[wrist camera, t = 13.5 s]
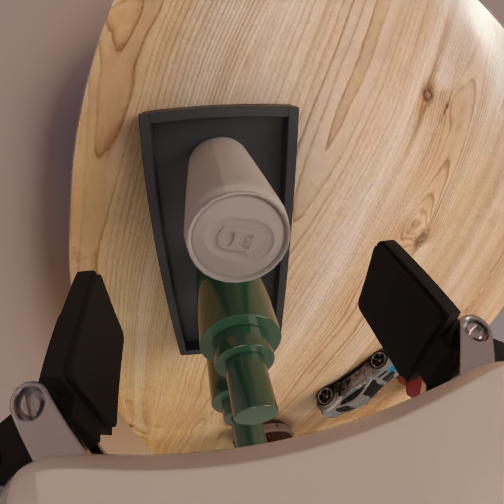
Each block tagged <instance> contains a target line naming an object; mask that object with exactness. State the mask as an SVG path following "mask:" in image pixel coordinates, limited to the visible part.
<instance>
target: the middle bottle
mask: <svg viewBox="0 0 504 504" xmlns="http://www.w3.org/2000/svg"><path fill="white" fill-rule="evenodd" d="M195 273H196V297H197V315H198V332H199V346H200V350H201V352H202V354H203V355H204V357H205V358H206V359H208V360H209V361H211V362H213V363H214V365H215V369H216V371H217V372H218V373H219V374H220V375H222V376H224V377H226V378H227V383H228V389H229V396H230V402H231V408H232V414H233V419H234V421H235V422H237V423H239V424H243V425H254V424H260V423H263V422H266V421H269V420H271V419H273V418H274V417H275V416H276V415H277V414H278V406H277V403H276V399H275V395H274V392H273V388H272V384H271V380H270V377H269V373H268V369H269V368H270V367H271V366H272V365H273V363H274V359H275V356H274V351H275V350H276V349H277V347H278V346H279V344H280V341H281V331H280V328H279V325H278V322H277V319H276V316H275V313H274V310H273V307H272V304H271V301H270V298H269V295H268V292H267V289H266V286H265V283H264V280H263V277H262V276H261V277H259V278H256V279H254V280H251V281H246V282H240V283H232V282H223V281H219V280H215V279H213V278H211V277H209V276H207V275H206V274H204V273H203V272H202V271H201V270H200V269H198V268H197V267H196V266H195Z"/></svg>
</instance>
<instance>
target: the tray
mask: <svg viewBox="0 0 504 504" xmlns="http://www.w3.org/2000/svg"><path fill="white" fill-rule="evenodd" d="M298 116H299V107H296V106H293V105H282V104H230V105H208V106H193V107H181V108H170V109H161V110H153V111H145V112H142V113H141V114H139V128H140V139H141V149H142V158H143V167H144V175H145V182H146V190H147V197H148V204H149V210H150V216H151V223H152V228H153V234H154V240H155V245H156V251H157V256H158V261H159V266H160V271H161V276H162V280H163V285H164V290H165V294H166V299H167V303H168V307H169V311H170V315H171V320H172V324H173V328H174V331H175V335H176V339H177V343H178V347H179V350H180V354H181V355H187V354H188V355H191V354H202V352H201V350H200V346H199V332H198V315H197V297H196V273H195V264H194V263H193V261H192V259H191V258H190V256H189V252H188V249H187V247H186V243H185V239H184V220H185V203H186V189H187V176H188V165H189V159H190V156H191V154H192V152H193V150H194V149H195V148H196V147H197V146H198V145H199V144H201V143H202V142H203V141H206V140H208V139H211V138H216V137H229V138H231V139H234V140H236V141H238V142H239V143H240V144H242V145H243V147H244V148H245V149H246V151H247V152H248V154H249V155H250V156H251V158H252V159H253V161H254V162H255V164H256V165H257V167H258V168H259V169H260V171H261V172H262V174H263V175H264V177H265V178H266V180H267V181H268V183H269V184H270V186H271V187H272V189H273V190H274V192H275V193H276V195H277V196H278V198H279V199H280V201H281V202H282V204H283V205H284V207H285V210H286V213H287V216H288V219H289V225H290V237H291V225H292V213H293V199H294V185H295V171H296V154H297V137H298ZM289 248H290V242H289V246H288V249H287V251H286V253H285V255H284V257H283V258H282V260H281V261H280V262H279V263H278V264H277V265H276V266H275V267H274V268H273V269H272V270H271V271H269V272H268V273H266V274H265V275H263V276H262V277H263V280H264V283H265V286H266V289H267V292H268V295H269V298H270V301H271V304H272V307H273V310H274V313H275V316H276V319H277V322H278V325H279V328H280V331H281V327H282V318H283V309H284V300H285V290H286V280H287V270H288V259H289Z"/></svg>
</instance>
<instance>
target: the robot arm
mask: <svg viewBox="0 0 504 504" xmlns="http://www.w3.org/2000/svg"><path fill="white" fill-rule="evenodd" d="M358 305H359V309H360V311H361V313H362V314H363V316H364V317H365V319H366V321H367V322H368V324H369V325H370V327H371V329H372V330H373V332H374V334H375V335H376V337H377V339H378V340H379V342H380V344H381V345H382V347H383V349H384V350H385V352H386V354H387V355H388V357H389V359H390V360H391V362H392V364H393V365H394V367H395V369H396V371H397V372H398V374H399V375H400V376H401V377H403V378H404V379H405V381H406V383H409V382H411V381H413V380H416V379H418V378H419V376H420V377H421V378H422V384H421V390H420V395H418V396H416V397H414V398H411V399H409V400H407V401H404V402H402V403H400V404H397V405H395V406H392V407H390V408H387V409H384V410H382V411H379V412H376V413H374V414H371V415H368V416H365V417H362V418H359V419H357V420H354V421H350V422H347V423H344V424H341V425H338V426H334V427H331V428H328V429H324V430H320V431H317V432H313V433H309V434H305V435H301V436H297V437H293V438H288V439H284V440H279V441H274V442H269V443H263V444H258V445H252V446H246V447H239V448H232V449H225V450H216V451H207V452H196V453H181V454H159V455H114V454H107V453H106V452H105V450H104V449H103V448H102V447H101V445H100V444H99V442H100V435H112V427H115V426H116V424H117V408H118V393H119V381H120V370H121V360H122V352H123V343H124V336H123V331H122V329H121V326H120V324H119V321H118V319H117V316H116V314H115V311H114V309H113V306H112V304H111V301H110V298H109V296H108V293H107V290H106V287H105V285H104V282H103V279H102V276H101V275H100V274H98V275H97V274H96V272H95V271H93V270H92V271H82V272H77V274H76V276H75V278H74V281H73V283H72V286H71V288H70V291H69V293H68V296H67V299H66V302H65V304H64V307H63V309H62V312H61V314H60V315H59V317H58V319H57V322H56V325H55V328H54V331H53V334H52V337H51V340H50V343H49V346H48V350H47V353H46V356H45V360H44V363H43V367H42V371H41V374H40V378H39V382H35V381H29V382H25V383H23V384H21V385H20V386H19V387H18V388H17V389H16V390H15V391H14V393H13V394H12V397H11V400H10V412H11V415H9V416H8V417H7V418H6V419H5V420H3V421H2V422H1V423H0V504H504V343H503V342H501V341H498V340H495V339H493V336H492V331H491V329H490V327H489V325H488V324H487V323H486V322H485V321H484V320H483V319H481V318H480V317H478V316H475V315H465V316H463V317H462V319H461V320H460V322H459V320H458V319H457V318H458V316H459V314H460V313H461V312H460V311H459V309H458V308H457V307H456V306H455V305H454V303H453V302H452V301H451V300H450V299H449V298H448V296H447V295H446V294H445V293H444V292H443V291H442V290H441V288H440V287H439V286H438V285H437V284H436V283H435V282H434V281H433V280H432V278H431V277H430V276H429V275H428V274H427V273H426V272H425V271H424V270H423V269H422V268H421V267H420V266H419V264H418V263H417V262H416V261H415V260H414V259H413V258H412V257H411V256H410V255H409V254H408V253H407V252H406V251H405V250H404V249H403V248H402V247H401V246H400V245H399V244H398V243H397V242H396V241H395V240H388V241H380V242H379V243H378V244H377V246H375V247H374V250H373V254H372V257H371V261H370V265H369V268H368V272H367V275H366V279H365V282H364V285H363V289H362V292H361V295H360V298H359V303H358Z"/></svg>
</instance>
